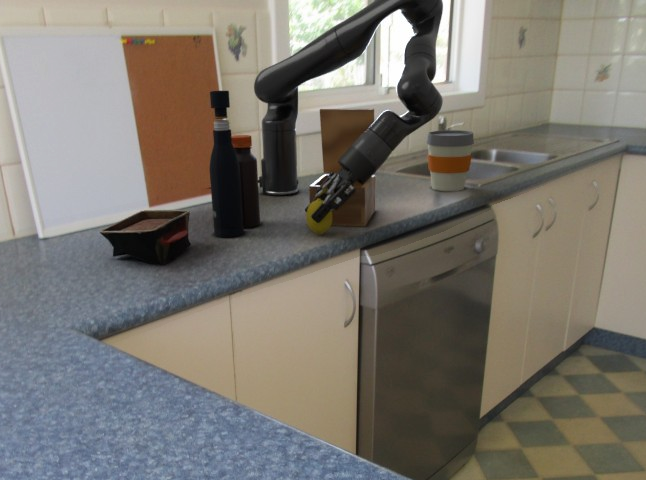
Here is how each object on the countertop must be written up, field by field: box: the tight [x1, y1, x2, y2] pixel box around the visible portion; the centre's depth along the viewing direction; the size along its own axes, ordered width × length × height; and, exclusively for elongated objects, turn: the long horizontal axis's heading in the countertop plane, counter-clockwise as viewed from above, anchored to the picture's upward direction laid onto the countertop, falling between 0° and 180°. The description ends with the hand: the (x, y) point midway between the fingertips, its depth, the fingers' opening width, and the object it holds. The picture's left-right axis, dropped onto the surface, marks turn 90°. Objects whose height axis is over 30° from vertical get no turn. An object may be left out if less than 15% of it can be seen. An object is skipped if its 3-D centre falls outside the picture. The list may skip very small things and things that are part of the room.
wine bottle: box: [209, 90, 245, 239], centre depth 140 cm, size 6×6×30 cm
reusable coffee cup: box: [426, 129, 475, 192], centre depth 183 cm, size 13×13×15 cm
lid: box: [319, 108, 377, 175], centre depth 158 cm, size 15×13×5 cm
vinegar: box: [231, 134, 261, 229], centre depth 149 cm, size 7×7×20 cm
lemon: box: [305, 199, 332, 236], centre depth 141 cm, size 6×6×8 cm
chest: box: [308, 173, 376, 227], centre depth 155 cm, size 15×13×9 cm
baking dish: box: [99, 209, 192, 266], centre depth 132 cm, size 14×18×10 cm
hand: (311, 216), depth 141 cm, fingers closed on lemon, 5 cm apart
